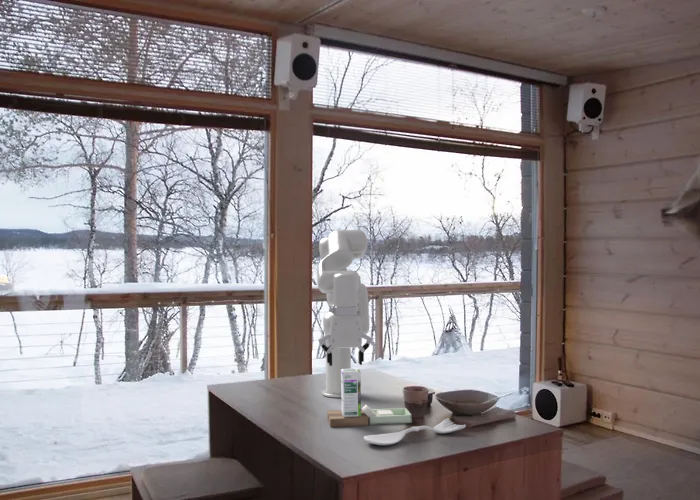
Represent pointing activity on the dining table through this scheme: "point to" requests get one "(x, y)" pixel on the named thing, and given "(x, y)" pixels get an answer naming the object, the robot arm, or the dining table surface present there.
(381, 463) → the dining table surface
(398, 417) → the tray
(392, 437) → the spoon
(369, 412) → the tile
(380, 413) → the tile
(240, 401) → the dining table surface
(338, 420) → the board
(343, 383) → the syrup box
